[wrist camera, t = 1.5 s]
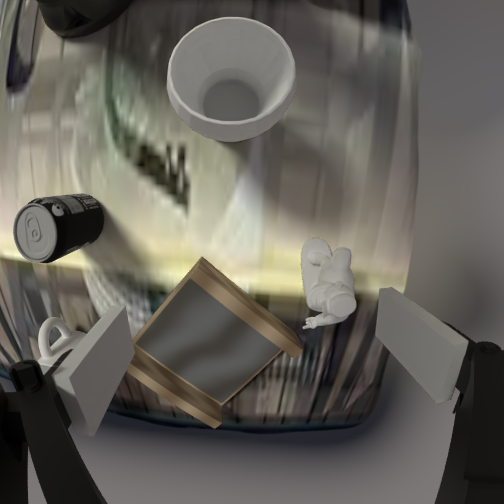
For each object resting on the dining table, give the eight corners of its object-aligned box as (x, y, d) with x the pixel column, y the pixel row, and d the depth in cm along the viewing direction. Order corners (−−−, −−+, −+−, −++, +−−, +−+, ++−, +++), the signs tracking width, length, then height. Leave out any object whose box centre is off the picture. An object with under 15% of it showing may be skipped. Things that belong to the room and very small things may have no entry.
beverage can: (73, 250, 36) (23, 275, 25) (58, 204, 35) (3, 214, 23) (113, 234, 36) (68, 254, 25) (97, 185, 35) (47, 188, 23)
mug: (45, 308, 38) (7, 337, 28) (88, 301, 38) (53, 333, 28) (72, 376, 40) (45, 414, 30) (115, 374, 41) (92, 417, 31)
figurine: (284, 242, 38) (307, 267, 26) (334, 234, 38) (376, 254, 27) (292, 310, 40) (315, 357, 28) (339, 301, 40) (376, 342, 29)
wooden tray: (127, 345, 40) (116, 364, 35) (201, 256, 38) (197, 267, 33) (215, 406, 43) (214, 428, 38) (295, 332, 41) (303, 350, 36)
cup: (293, 120, 35) (330, 83, 20) (222, 172, 36) (216, 162, 21) (239, 57, 33) (245, -8, 18) (169, 106, 34) (134, 61, 19)
